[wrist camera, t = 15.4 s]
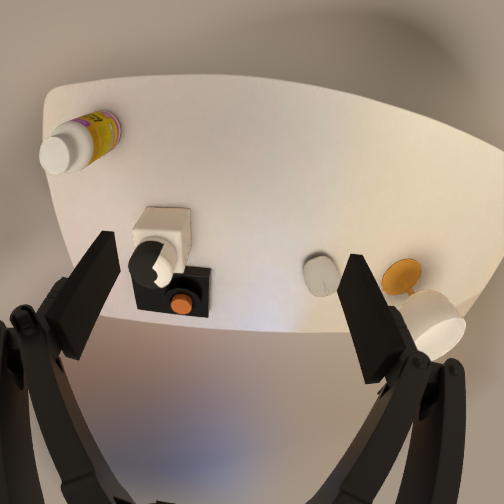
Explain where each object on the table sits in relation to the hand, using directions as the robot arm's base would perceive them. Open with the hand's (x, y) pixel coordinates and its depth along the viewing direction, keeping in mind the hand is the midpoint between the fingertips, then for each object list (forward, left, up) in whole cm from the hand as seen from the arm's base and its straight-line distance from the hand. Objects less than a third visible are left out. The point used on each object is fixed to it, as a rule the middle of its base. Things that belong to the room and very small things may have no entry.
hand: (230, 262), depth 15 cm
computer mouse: (+24, -10, -27) cm, 37 cm away
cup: (+39, -1, -27) cm, 47 cm away
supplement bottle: (-19, -9, -27) cm, 34 cm away
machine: (+4, -28, -27) cm, 39 cm away
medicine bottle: (-2, -17, -27) cm, 32 cm away
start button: (+6, -27, -23) cm, 36 cm away
